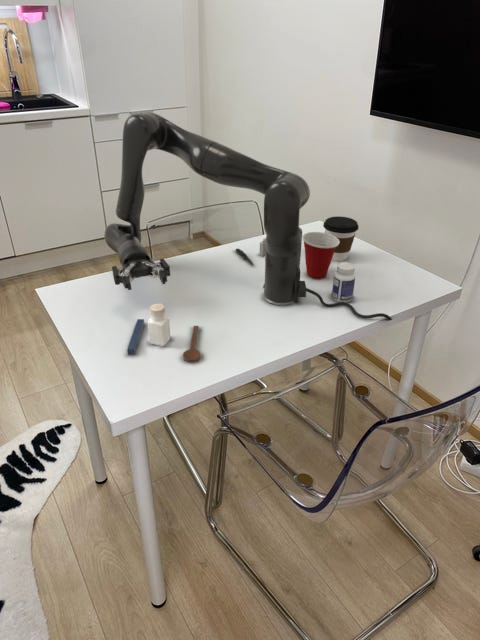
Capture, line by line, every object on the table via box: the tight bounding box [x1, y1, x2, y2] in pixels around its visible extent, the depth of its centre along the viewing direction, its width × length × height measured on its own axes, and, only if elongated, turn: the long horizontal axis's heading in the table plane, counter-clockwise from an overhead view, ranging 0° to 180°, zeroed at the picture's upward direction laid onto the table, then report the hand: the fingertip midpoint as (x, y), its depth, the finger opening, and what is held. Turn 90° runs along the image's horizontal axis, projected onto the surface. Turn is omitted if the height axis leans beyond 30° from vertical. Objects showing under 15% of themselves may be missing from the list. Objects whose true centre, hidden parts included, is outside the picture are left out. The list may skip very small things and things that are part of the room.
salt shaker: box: [147, 303, 172, 347], centre depth 115 cm, size 4×4×10 cm
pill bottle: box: [331, 261, 356, 303], centre depth 133 cm, size 6×6×10 cm
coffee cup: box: [323, 215, 359, 262], centre depth 155 cm, size 11×11×12 cm
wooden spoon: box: [182, 325, 202, 364], centre depth 116 cm, size 4×14×1 cm, turn 0°
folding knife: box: [235, 248, 254, 266], centre depth 156 cm, size 13×1×2 cm, turn 25°
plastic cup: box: [302, 231, 340, 280], centre depth 144 cm, size 11×11×12 cm
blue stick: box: [126, 318, 145, 356], centre depth 118 cm, size 2×13×2 cm, turn 0°
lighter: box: [259, 237, 266, 257], centre depth 159 cm, size 7×2×8 cm, turn 133°
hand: (147, 283), depth 120 cm, fingers open, 8 cm apart
